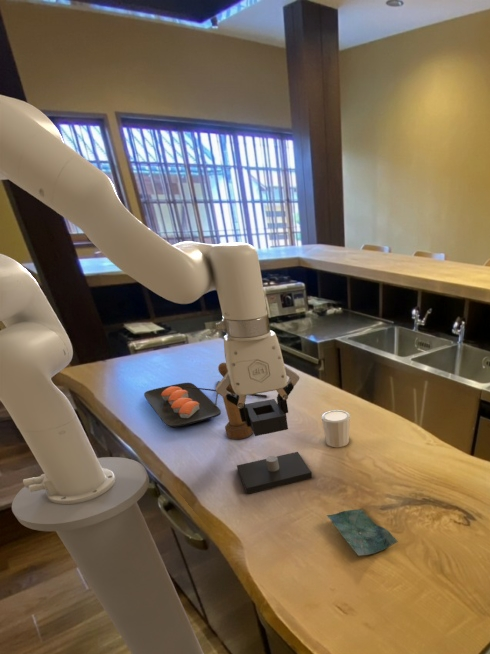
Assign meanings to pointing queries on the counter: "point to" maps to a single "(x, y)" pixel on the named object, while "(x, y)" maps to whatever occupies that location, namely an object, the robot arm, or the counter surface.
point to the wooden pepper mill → (233, 414)
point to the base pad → (273, 472)
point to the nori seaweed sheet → (362, 532)
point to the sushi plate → (183, 404)
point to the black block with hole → (266, 417)
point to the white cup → (336, 427)
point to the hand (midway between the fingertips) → (265, 419)
